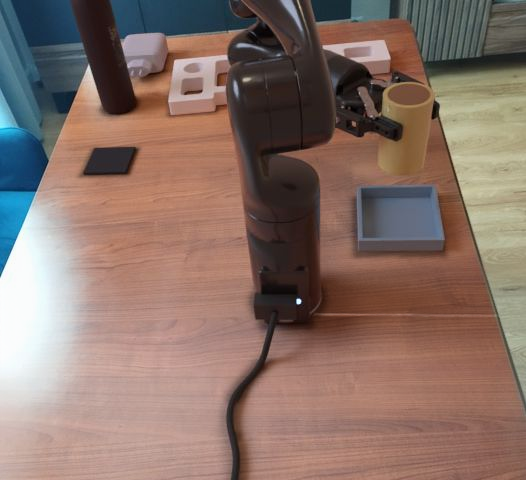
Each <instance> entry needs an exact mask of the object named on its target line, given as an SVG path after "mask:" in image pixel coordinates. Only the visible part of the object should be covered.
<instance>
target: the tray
mask: <svg viewBox="0 0 526 480" xmlns="http://www.w3.org/2000/svg"><path fill="white" fill-rule="evenodd" d="M356 217H357V218H356V219H357V220H356V221H357V222H356V223H357V251H358V252H431V251H432V252H443V250H444V246H445V243H446V237H445V233H444V227H443V226H444V225H443V220H442V213H441V209H440V202H439V197H438V191H437V184H436V183H434V184H392V185H391V184H387V185H385V184H384V185H383V184H381V185H357V186H356Z"/></svg>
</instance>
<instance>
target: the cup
mask: <svg viewBox="0 0 526 480" xmlns="http://www.w3.org/2000/svg"><path fill="white" fill-rule="evenodd" d="M424 84H425V83H424ZM424 84H421V83H416V82H402V83H397V84H394V85H391V86H389V87H388V88H386V89H385V90H384V92H383V98H382V110H381V112H380V116H381V115H383V116H385V117H387V118H389V119H391V120H394V121H396V122H398V123H400V124H402V126H403V133H402V139H400V140H399V141H397V142H396V141H394V140H391V139H387V138H385V137H383V136H381V135H379V134H378V136H379V137H378V148H377V160H376V162H377V166H378V168H379V169H380V170H381V171H383V172H384V173H386V174H389V175H393V176H400V177H401V176H404V177H405V176H411V175H413V174H416V173H418V172H420V171H421V170H423V168H424V166H425V162H426V155H427V151H428V150H427V149H428V143H429V135H430V131H431V130H430V129H431V124H432V119H431V117H432V111H433V104H434V100H435V98H436V97H435V96H436V93H435V91H434V90H433V88H432V87H430V86H428V85H426V84H425V85H424Z"/></svg>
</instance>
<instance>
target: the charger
mask: <svg viewBox="0 0 526 480" xmlns="http://www.w3.org/2000/svg"><path fill="white" fill-rule="evenodd" d="M167 41H168V40H167V36H166V34H164V33H162V32H148V33H135V34H128V35H126V36H125V38H124V40H123V43H122V48H123V52H124V56H125V59H126V63H127V67H128V71H129V75H130V78H144V77H146V76H148V75H149V74H154V73H161V72H162V71H163V70H164V67H165V64H166V60H167V57H168V54H169V46H168V42H167Z"/></svg>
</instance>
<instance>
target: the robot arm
mask: <svg viewBox="0 0 526 480" xmlns="http://www.w3.org/2000/svg"><path fill="white" fill-rule="evenodd" d="M227 2H228V5H229V9H230V12H232V14H233V15H234V16H236V17H237V18H240V19H255V21H256V22H255V23H254V24H252V25H250V26H249V27H247V28H246V29H244V30H242V31H240V32H238V33H237V34H236V35H234V36H233V37H232V38H231V39H230V41H229V42H228V45H227V48H226V55H227V58H228V62H229V64H230V66H231V67H230V69H229V71H228V72H227V74H226V77H225V86H226V102H227V104H226V108H227V114H228V119H229V125H230V129H231V135H232V141H233V144H234V150H235V155H236V160H237V161H236V162H237V166H238V173H239V175H238V176H239V183H240V192H241V201H242V210H243V217H244V225H245V232H246V240H247V247H248V248H247V249H248V255H249V262H250V263H249V264H250V270H251V276H252V284H253V290H254V292H253V293H254V298H253V304H252V305H253V311H254V319H255V320H256V321H258V320H260V321H261V320H263V322H264V324H268V327H267V330H266V334H265V337H264V342H263V345H262V350H261V353H260V356H259V358H258V360H257V362H256V364H255V365H254V367H253V368H252V370H251V371H250V372H249V373H248V375H247V376H246V377H245V378H244V379H243V380H242V381H241V382H240V383H239V384H238V385H237V387H236V388H235V389H234V391H233V392H232V394H231V396H230V397H229V401H228V404H227V409H226V415H225V422H226V423H225V424H226V431H227V434H228V435H227V436H228V439H229V444H230V447H231V454H232V455H231V456H232V465H231V475H230V480H239V475H240V468H241V467H240V466H241V455H240V454H241V453H240V447H239V442H238V438H237V435H236V431H235V424H234V411H235V407H236V403H237V401H238V399H239V397H240V396H241V394H242V393H243V391H244V390H245V389H246V388H247V387H248V386H249V385H250V383H252V381H253V380H254V379H255V378H256V376H257V375H258V374H259V373H260V371H261V370H262V368H263V367H264V366H265V365H264V364H265V362H266V360H267V358H268V355H269V352H270V347H271V345H272V341H273V337H274V334H275V329H276V325H277V324H309V323H310V319H311V317H312V316H313V315H314V314H315V312H316V311H317V310H318V309H319V307H320V305H321V303H322V299H323V291H322V257H321V255H322V254H321V253H322V250H321V247H322V246H321V244H322V242H321V241H322V240H321V239H322V238H321V217H322V215H321V179H320V177H319V174H318V172H317V171H316V169H315V168H314V167H313V166H312V165H311V164H309V163H308V162H306V161H304V160H302V159H300V158H297V157H294V156H289V155H286V154H285V153H293V152H299V151H305V150H311V149H316V148H320V147H323V146H325V145H327V144H328V143H330V142H331V140H332V139H333V136H334V134H335V131H336V129H338V130H340V131H342V132H344V133H347V134H349V135H351V136H354V137H356V138H360V139H361V138H363V137H365V134H366V133H367V134H368V133H369V134H372V135H374V134H377V135H378V136H379V135H381V136H383V137H385V138H387V139H391V140H394V141H396V142H397V141H399V140H400V139H402V133H403V126H402V124H400V123H398V122H396V121H394V120H391V119H389V118H387V117H385V116H383V115H381V110H382V98H383V92H384V90H385V89H386V88H388V87H389V86H391V85H394V84H397V83H402V82H416V83H421V84H424V85H426V84H425V83H424V82H422V81H420V80H418V79H416V78H414V77H411V76H409V75H407V74H405V73H403V72H401V71H398V70H394V71H392V72H391V77H390V78H387V79H386V80H385V79H382V78H377V77H376V78H375V77H374V76H372V75H373V74H370V72H369V70H368V69H367V67H366V66H365V65H363V64H361V63H359V62H356V61H354V60H351V59H349V58H347V57H344V56H342V55H339V54H337V53H335V52H332V51H329V50H326V49H323V46H324V45H323V43H322V39H321V35H320V32H319V28H318V25H317V20H316V18H315V14H314V11H313V7H312V2H311V0H227ZM440 109H441V104H440V103H439V102H438V101H437V100H435V99H434V104H433V111H432V117H431V121H434V120H436V119H437V118H438V117H439V115H440ZM353 123H355V126H354V125H353Z"/></svg>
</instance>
